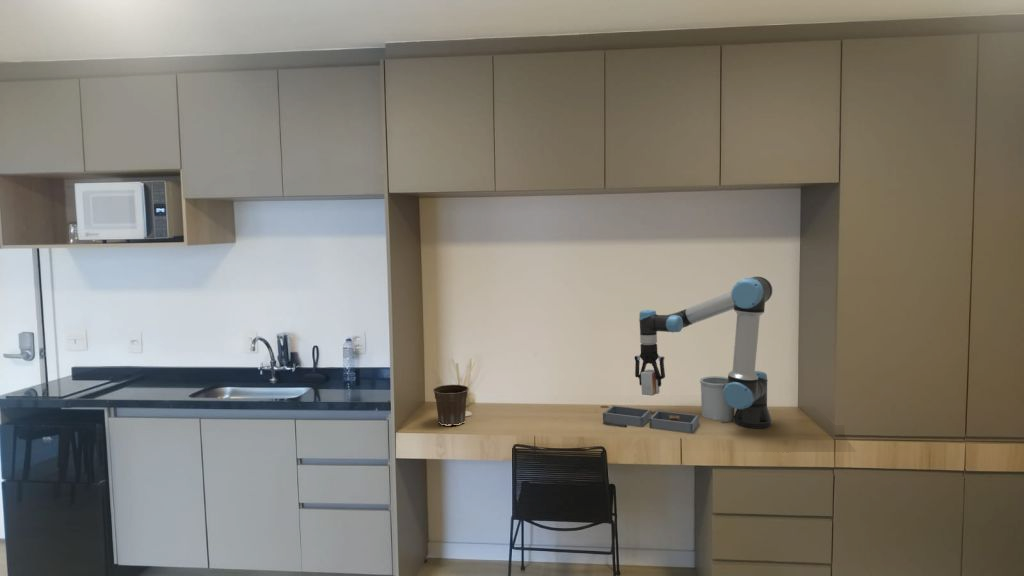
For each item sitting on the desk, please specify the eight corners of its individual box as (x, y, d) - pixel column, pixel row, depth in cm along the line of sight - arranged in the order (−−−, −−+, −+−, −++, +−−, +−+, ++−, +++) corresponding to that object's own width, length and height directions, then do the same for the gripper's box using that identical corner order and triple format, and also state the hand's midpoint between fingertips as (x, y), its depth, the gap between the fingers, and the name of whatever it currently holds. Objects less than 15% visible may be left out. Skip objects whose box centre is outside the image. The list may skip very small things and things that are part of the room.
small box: (652, 396, 266) (651, 373, 265) (641, 394, 269) (640, 372, 269) (659, 392, 272) (659, 369, 272) (648, 391, 276) (647, 369, 275)
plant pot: (476, 419, 273) (474, 385, 272) (458, 430, 259) (457, 394, 258) (446, 416, 280) (444, 383, 279) (427, 426, 266) (426, 391, 264)
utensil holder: (700, 421, 259) (700, 383, 258) (700, 412, 273) (699, 375, 272) (736, 423, 255) (736, 384, 253) (733, 413, 269) (733, 376, 267)
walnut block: (679, 424, 253) (679, 415, 253) (679, 427, 249) (679, 418, 249) (669, 424, 254) (669, 415, 254) (669, 427, 250) (669, 418, 250)
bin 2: (699, 426, 253) (698, 415, 252) (692, 435, 242) (692, 423, 241) (657, 421, 262) (657, 410, 261) (649, 430, 250) (649, 418, 250)
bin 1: (651, 420, 263) (650, 409, 263) (642, 429, 252) (642, 417, 251) (612, 415, 272) (612, 405, 271) (603, 424, 261) (602, 413, 260)
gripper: (671, 342, 268) (673, 392, 269) (631, 341, 277) (633, 389, 279) (667, 345, 261) (669, 396, 263) (626, 344, 271) (628, 393, 272)
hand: (650, 392), depth 271 cm, fingers closed on small box, 6 cm apart
